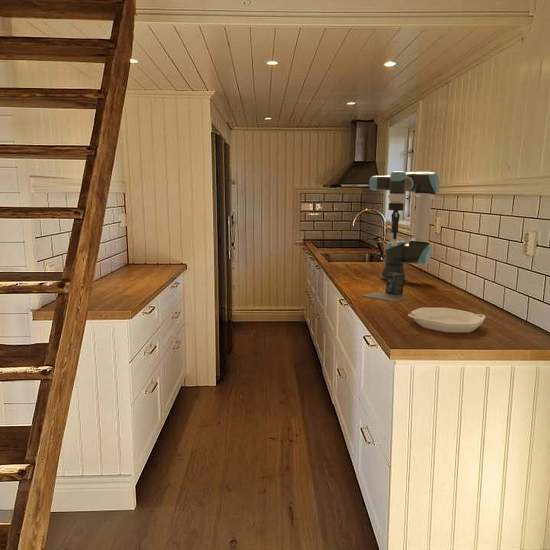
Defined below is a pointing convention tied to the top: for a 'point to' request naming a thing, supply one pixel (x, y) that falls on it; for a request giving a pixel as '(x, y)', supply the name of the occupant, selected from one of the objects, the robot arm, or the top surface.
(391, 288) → the box
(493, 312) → the top surface
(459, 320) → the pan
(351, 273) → the top surface
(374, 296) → the mat
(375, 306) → the top surface
